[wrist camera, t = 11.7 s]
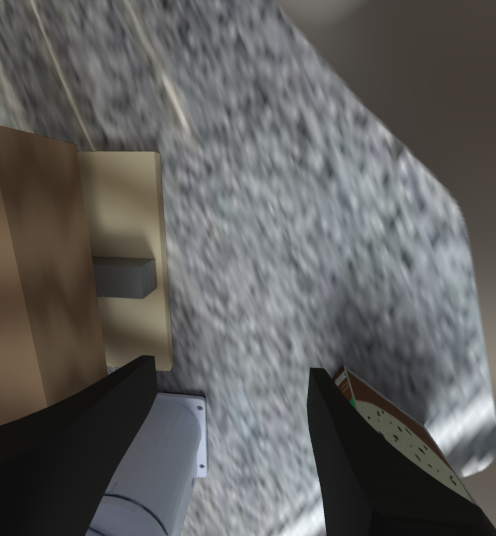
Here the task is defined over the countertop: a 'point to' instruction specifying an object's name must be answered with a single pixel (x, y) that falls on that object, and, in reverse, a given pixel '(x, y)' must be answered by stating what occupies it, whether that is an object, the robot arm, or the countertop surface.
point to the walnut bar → (44, 277)
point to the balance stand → (128, 253)
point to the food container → (399, 430)
